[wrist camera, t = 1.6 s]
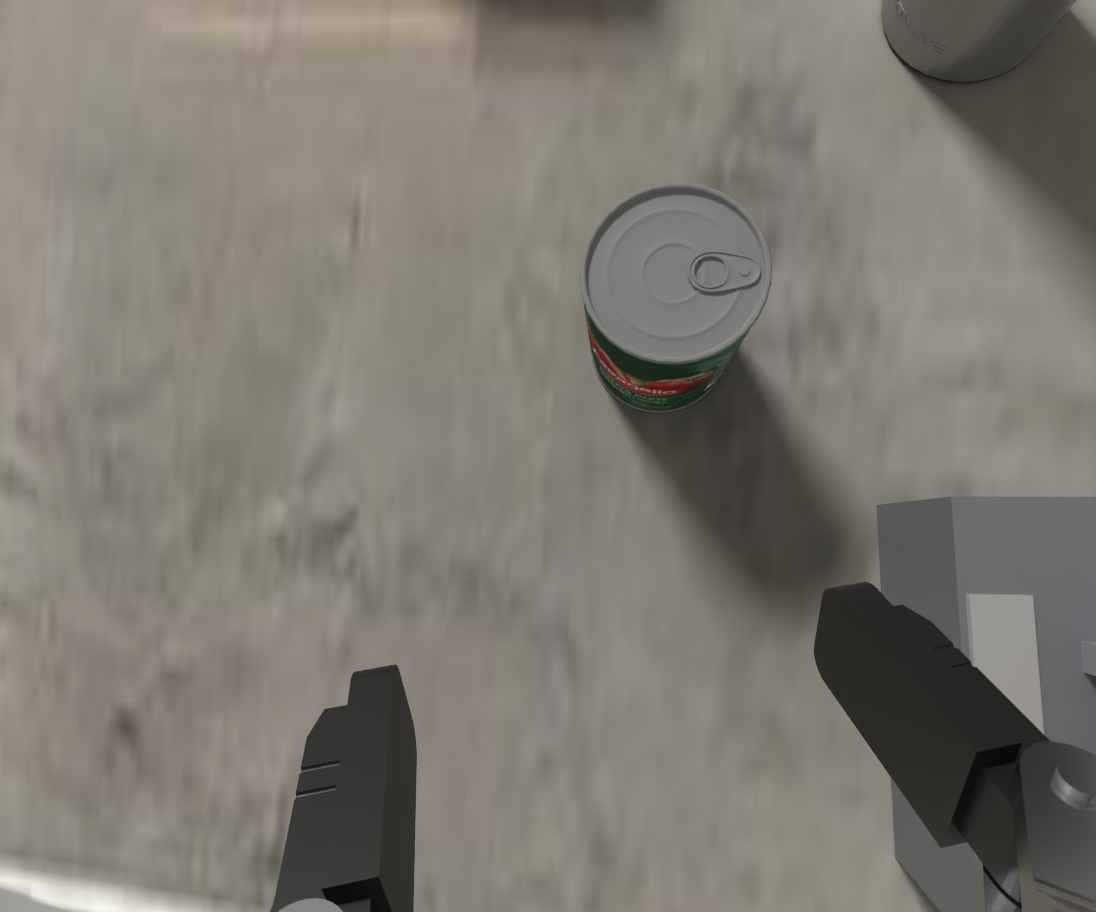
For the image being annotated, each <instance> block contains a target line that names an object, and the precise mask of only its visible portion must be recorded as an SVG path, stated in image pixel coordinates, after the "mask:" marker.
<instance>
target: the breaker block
mask: <svg viewBox="0 0 1096 912" xmlns="http://www.w3.org/2000/svg"><path fill="white" fill-rule="evenodd" d="M877 517H878V536H879V555H880V574H881V593H882V594H883V596H884V597H885V598H886V599H887V600H888V601H889V602H890V603H891V604H892V605H893V606H897V605H904V606H906V607H907V608H909V609H911V610H912V611H914V612H916V613H918V614H919V615H921V616H923V617H924V618H926V619H928V620H929V621H931V622H932V623H933V624H934V625H935V626H936V627H937V628H938V629H939V630H940V631H941V632H942V633H943V634H944V635H945V636H946V637H947V638H948V639H949V640H950V641H951V642H952V643H953V646H954V648H955V649H956V648H958V649H959V650H960V651H961V652H962V653H963V654H964V655H965V656H966V657H967V658H968V659H969V660H970V661H971V663H972V666H973V667H977V668H978V669H979V670H980V671H981V672H982V673H983V674H984V675H985V676H986V677H987V678H988V679H989V680H990V681H991V682H992V683H993V684H994V685H995V686H996V687H997V688H998V689H999V690H1000V691H1001V692H1002V693H1003V694H1004V695H1005V696H1006V697H1007V698H1008V699H1009V700H1010V701H1011V702H1012V703H1013V704H1014V705H1015V706H1016V707H1017V708H1018V709H1019V710H1020V711H1021V712H1022V713H1023V714H1024V715H1025V716H1026V717H1027V718H1028V719H1029V720H1030V721H1031V722H1032V723H1033V724H1034V725H1035V726H1036V727H1037V728H1038V729H1039V730H1040V731H1041V732H1042V733H1043V734H1044V735H1045V736H1046V737H1047V738H1048V739H1049V740H1050V741H1051V742H1060V743H1065V744H1069V745H1072V746H1075V747H1078V748H1081V749H1083V750H1085V751H1088V752H1090V753H1092V754H1094V755H1096V497H945V498H936V499H928V500H919V501H910V502H901V503H892V504H883V505H877ZM891 782H892V801H893V820H894V839H895V858H896V859H897V860H898V861H899V863H900V864H901V865H902V866H903V867H904V869H905V870H906V871H907V872H908V873H909V875H910V876H911V877H912V878H913V879H914V881H915V882H916V883H917V884H918V885H919V886H920V888H921V889H922V890H923V891H924V892H925V894H926V895H927V896H928V897H929V898H930V900H931V901H932V902H933V903H934V904H935V906H936V907H937V908H938V909H939V910H940V912H976V895H975V863H976V860H977V857H978V856H977V855H976V853H975V852H974V851H973V849H972V848H971V847H970V845H969V844H968V843H967V842H966V843H961V844H957V845H953V846H948V847H944V848H940V846H939V845H938V844H937V842H936V841H935V839H934V838H933V836H932V835H931V834H930V832H929V831H928V829H927V828H926V826H925V825H924V824H923V822H922V821H921V819H920V818H919V816H918V815H917V814H916V812H915V811H914V809H913V808H912V806H911V805H910V804H909V802H908V801H907V799H906V798H905V796H904V795H903V794H902V792H901V791H900V789H899V788H898V786H897V785H896V783H895V782H894V781H893V779H892V778H891Z"/></svg>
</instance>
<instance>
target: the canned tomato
mask: <svg viewBox="0 0 1096 912" xmlns="http://www.w3.org/2000/svg"><path fill="white" fill-rule="evenodd" d="M771 273H772V263H771V257H770V251H769V246H768V244H767V241H766V239H765V236H764V234H763V231H762V229H761V228H760V226H759V225H758V223H757V222H756V220H755V219H754V217H753V216H752V215H751V214H750V213H749V212H748V211H747V210H746V209H745V208H744V207H743V206H742V205H741V204H740V203H739V202H737V201H736V200H734V199H733V198H731V197H729V196H728V195H726V194H725V193H723V192H720V191H718V190H715V189H713V188H710V187H708V186H704V185H699V184H694V183H681V182H670V183H664V184H658V185H652V186H649V187H647V188H644V189H641V190H638V191H636V192H634V193H632V194H630V195H629V196H627V197H625V198H623V199H622V200H620V201H619V202H617V203H616V204H615V205H614V206H613V207H612V208H610V209H609V210H608V211H607V212H606V213H605V214H604V215H603V217H602V218H601V219H600V220H599V222H598V223H597V224H596V225H595V227H594V228H593V230H592V232H591V234H590V236H589V238H588V240H587V242H586V244H585V248H584V251H583V255H582V258H581V266H580V286H581V294H582V298H583V301H584V308H585V315H586V321H587V327H588V332H589V339H590V345H591V353H592V361H593V365H594V368H595V371H596V374H597V376H598V377H599V379H600V381H601V382H602V384H603V386H604V387H605V388H606V389H607V390H608V391H609V392H610V393H611V395H612V396H614V397H615V398H616V399H618V400H619V401H620V402H622V403H623V404H626V405H628V406H630V407H632V408H634V409H637V410H641V411H645V412H653V413H665V412H672V411H677V410H680V409H683V408H686V407H688V406H690V405H692V404H694V403H695V402H697V401H699V400H700V399H701V398H703V397H704V396H705V395H706V394H707V393H708V392H710V391H711V389H712V388H713V387H714V385H715V384H716V383H717V382H718V380H719V378H720V376H721V374H722V373H723V371H724V370H725V368H726V366H727V365H728V363H729V362H730V360H731V358H732V357H733V355H734V354H735V352H736V351H737V349H738V348H739V346H740V344H741V343H742V341H743V339H744V338H745V336H746V334H747V333H748V332H749V330H750V328H751V327H752V325H753V324H754V323H755V322H756V320H757V319H758V317H759V315H760V313H761V311H762V309H763V307H764V305H765V303H766V300H767V297H768V293H769V289H770V285H771Z"/></svg>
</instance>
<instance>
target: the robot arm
mask: <svg viewBox="0 0 1096 912" xmlns="http://www.w3.org/2000/svg"><path fill="white" fill-rule="evenodd" d="M1075 1H1076V0H883V2H882V14H881V15H882V22H883V28H884V31H885V34H886V36H887V38H888V41H889V43H890V44H891V46H892V47H893V49H894V50H895V51H896V53H897V54H898V55H899V56H900V57H901V58H902V59H903V60H904V61H905V62H907V63H908V64H909V65H910V66H911V67H913V68H915V69H917V70H919V71H920V72H922V73H924V74H926V75H929V76H932V77H935V78H938V79H941V80H948V81H956V82H967V81H979V80H983V79H987V78H991V77H995V76H998V75H1000V74H1002V73H1004V72H1006V71H1009V70H1011V69H1012V68H1014V67H1015V66H1017V65H1018V64H1019V63H1021V62H1022V61H1024V60H1025V59H1026V58H1027V57H1028V56H1029V55H1030V54H1031V53H1032V51H1033V50H1034V49H1035V48H1036V47H1037V46H1038V45H1039V44H1040V42H1041V41H1042V40H1043V39H1044V38H1045V37H1046V35H1047V34H1048V33H1049V32H1050V31H1051V29H1052V28H1053V27H1054V26H1055V25H1056V24H1057V22H1058V21H1059V20H1060V19H1061V18H1062V17H1063V15H1064V14H1065V13H1066V12H1067V11H1068V9H1069V8H1070V7H1071V6H1072V5H1073V4H1074V2H1075ZM814 655H815V661H816V665H817V668H818V670H819V673H820V675H821V677H822V679H823V680H824V682H825V683H826V685H827V686H828V688H829V689H830V691H831V692H832V693H833V695H834V696H835V698H836V699H837V701H838V702H839V703H840V705H841V706H842V708H843V709H844V711H845V712H846V713H847V715H848V716H849V718H850V719H851V721H852V722H853V723H854V725H855V726H856V728H857V729H858V731H859V732H860V733H861V735H862V736H863V738H864V739H865V741H866V742H867V743H868V745H869V746H870V748H871V749H872V751H873V752H874V753H875V755H876V756H877V758H878V759H879V761H880V762H881V763H882V765H883V766H884V768H885V769H886V771H887V772H888V773H889V775H890V776H891V778H892V779H893V781H894V782H895V783H896V785H897V786H898V788H899V789H900V791H901V792H902V794H903V795H904V796H905V798H906V799H907V801H908V802H909V804H910V805H911V806H912V808H913V809H914V811H915V812H916V814H917V815H918V816H919V818H920V819H921V821H922V822H923V824H924V825H925V826H926V828H927V829H928V831H929V832H930V834H931V835H932V836H933V838H934V839H935V841H936V842H937V844H938V845H939V846H940V848H944V847H948V846H953V845H957V844H961V843H966V842H967V843H968V844H969V845H970V847H971V848H972V849H973V851H974V852H975V853H976V855H977V856H978V857H977V860H976V863H975V895H976V912H1096V755H1094V754H1092V753H1090V752H1088V751H1085V750H1083V749H1081V748H1078V747H1075V746H1072V745H1069V744H1065V743H1060V742H1051V741H1050V740H1049V739H1048V738H1047V737H1046V736H1045V735H1044V734H1043V733H1042V732H1041V731H1040V730H1039V729H1038V728H1037V727H1036V726H1035V725H1034V724H1033V723H1032V722H1031V721H1030V720H1029V719H1028V718H1027V717H1026V716H1025V715H1024V714H1023V713H1022V712H1021V711H1020V710H1019V709H1018V708H1017V707H1016V706H1015V705H1014V704H1013V703H1012V702H1011V701H1010V700H1009V699H1008V698H1007V697H1006V696H1005V695H1004V694H1003V693H1002V692H1001V691H1000V690H999V689H998V688H997V687H996V686H995V685H994V684H993V683H992V682H991V681H990V680H989V679H988V678H987V677H986V676H985V675H984V674H983V673H982V672H981V671H980V670H979V669H978V668H977V667H973V666H972V663H971V661H970V660H969V659H968V658H967V657H966V656H965V655H964V654H963V653H962V652H961V651H960V650H959V649H958V648H956V649H955V648H954V646H953V643H952V642H951V641H950V640H949V639H948V638H947V637H946V636H945V635H944V634H943V633H942V632H941V631H940V630H939V629H938V628H937V627H936V626H935V625H934V624H933V623H932V622H931V621H929V620H928V619H926V618H924V617H923V616H921V615H919V614H918V613H916V612H914V611H912V610H911V609H909V608H907V607H906V606H904V605H897V606H893V605H892V604H891V603H890V602H889V601H888V600H887V599H886V598H885V597H884V596H883V594H882V593H881V592H880V591H879V590H878V589H877V588H876V587H875V586H874V585H872V584H870V583H868V582H862V583H857V584H851V585H846V586H840V587H834V588H829V589H827V590H825V592H824V593H823V596H822V602H821V608H820V614H819V620H818V626H817V632H816V638H815V644H814ZM416 766H417V751H416V738H415V730H414V724H413V720H412V716H411V712H410V709H409V705H408V701H407V698H406V694H405V690H404V686H403V683H402V679H401V675H400V672H399V669H398V666H397V665H390V666H385V667H379V668H374V669H368V670H362V671H357V672H354V673H353V675H352V678H351V683H350V690H349V697H348V704H347V705H345V706H339V707H334V708H329V709H324V711H323V713H322V714H321V716H320V717H319V719H318V721H317V722H316V724H315V725H314V727H313V729H312V730H311V732H310V733H309V735H308V737H307V740H306V745H305V750H304V755H303V760H302V765H301V774H300V775H299V780H298V785H297V790H296V799H295V800H294V805H293V810H292V815H291V820H290V825H289V830H288V835H287V840H286V845H285V850H284V855H283V860H282V865H281V870H280V875H279V880H278V885H277V890H276V895H275V898H274V902H273V906H272V908H271V911H270V912H413V902H414V857H415V811H416Z"/></svg>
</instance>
